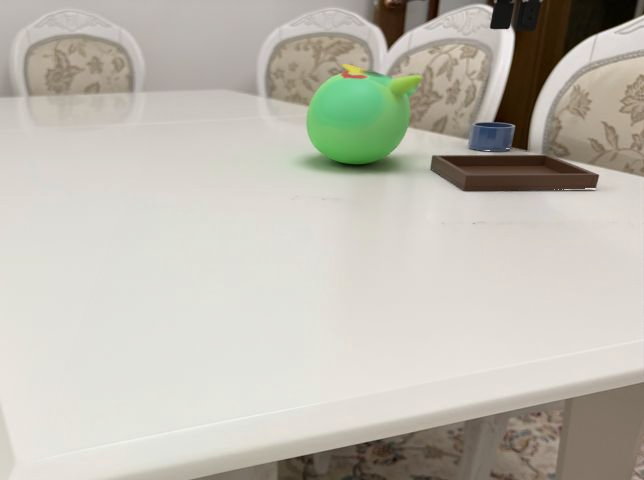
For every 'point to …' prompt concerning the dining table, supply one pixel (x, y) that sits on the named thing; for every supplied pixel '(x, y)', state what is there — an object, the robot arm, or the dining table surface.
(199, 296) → the dining table surface
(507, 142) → the blue bowl
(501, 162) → the serving tray
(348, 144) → the toy bird
